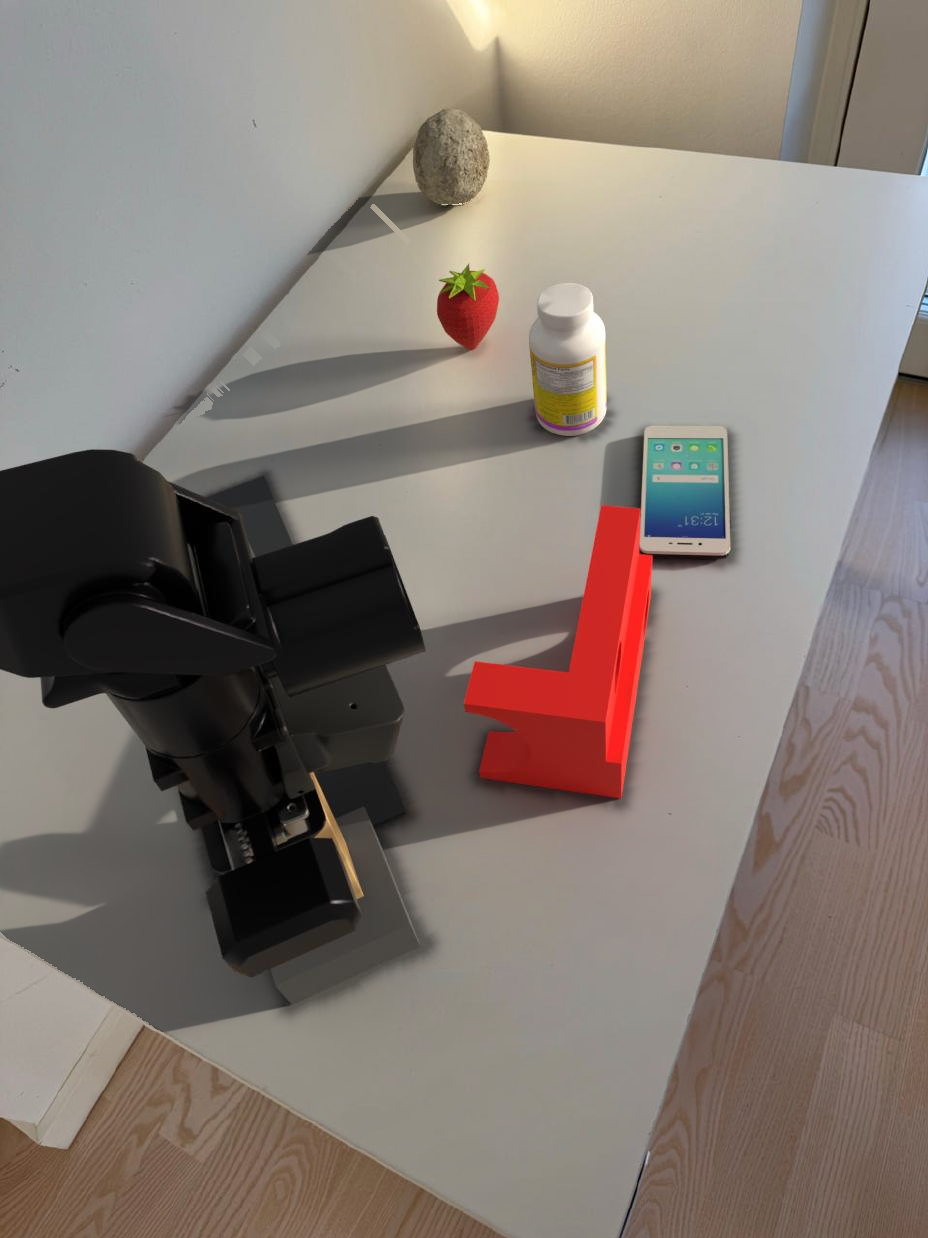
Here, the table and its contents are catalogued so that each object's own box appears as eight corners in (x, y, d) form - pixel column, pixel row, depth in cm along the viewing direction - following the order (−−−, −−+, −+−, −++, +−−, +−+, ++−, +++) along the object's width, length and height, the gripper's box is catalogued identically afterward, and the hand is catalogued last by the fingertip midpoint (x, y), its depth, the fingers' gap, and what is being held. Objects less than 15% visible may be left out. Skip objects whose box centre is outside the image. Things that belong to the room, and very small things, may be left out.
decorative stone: (479, 225, 114) (468, 140, 106) (410, 221, 116) (395, 137, 108) (503, 176, 119) (495, 92, 111) (436, 173, 122) (424, 90, 114)
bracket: (622, 724, 61) (463, 703, 64) (621, 798, 70) (480, 778, 72) (654, 509, 72) (516, 498, 74) (650, 596, 80) (526, 583, 82)
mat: (406, 813, 71) (405, 811, 71) (219, 895, 69) (218, 893, 69) (265, 478, 93) (263, 475, 93) (121, 532, 91) (119, 529, 91)
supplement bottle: (559, 382, 96) (553, 266, 86) (619, 404, 93) (620, 286, 83) (521, 425, 93) (510, 310, 83) (582, 448, 91) (578, 332, 80)
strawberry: (512, 327, 102) (504, 240, 94) (489, 375, 98) (478, 288, 90) (459, 321, 104) (446, 235, 96) (434, 368, 100) (418, 282, 92)
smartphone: (728, 425, 89) (732, 553, 80) (727, 432, 89) (731, 560, 81) (643, 424, 90) (638, 551, 81) (643, 431, 91) (637, 558, 82)
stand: (420, 946, 65) (410, 925, 62) (291, 1005, 64) (274, 986, 61) (375, 831, 70) (364, 806, 67) (255, 883, 69) (238, 860, 66)
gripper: (442, 802, 40) (482, 936, 52) (307, 500, 51) (368, 669, 63) (173, 918, 38) (281, 1027, 50) (95, 580, 49) (199, 738, 61)
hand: (288, 846), depth 56 cm, fingers closed
